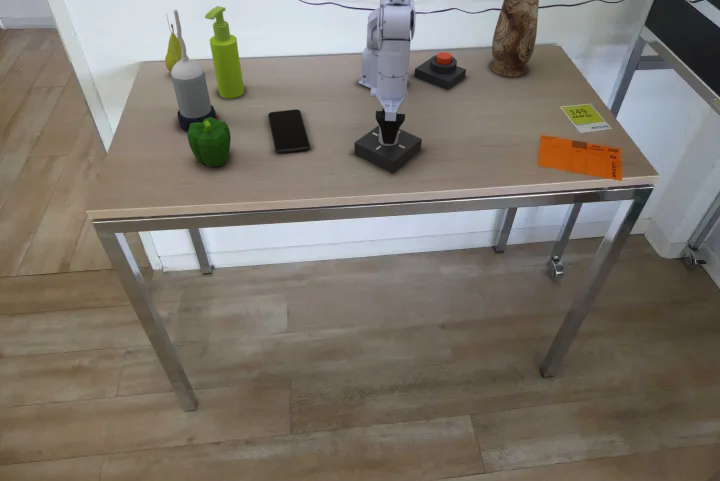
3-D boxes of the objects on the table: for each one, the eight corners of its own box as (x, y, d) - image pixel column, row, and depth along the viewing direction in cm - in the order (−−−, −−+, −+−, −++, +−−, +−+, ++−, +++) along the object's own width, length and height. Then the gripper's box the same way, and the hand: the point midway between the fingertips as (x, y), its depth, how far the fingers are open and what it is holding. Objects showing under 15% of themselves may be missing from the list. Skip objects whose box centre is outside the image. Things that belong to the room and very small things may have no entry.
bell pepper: (195, 148, 118) (186, 106, 111) (235, 147, 118) (228, 105, 111) (190, 173, 112) (179, 130, 105) (231, 171, 112) (224, 129, 105)
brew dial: (375, 142, 115) (376, 122, 112) (385, 132, 118) (386, 112, 114) (391, 148, 114) (393, 128, 110) (401, 138, 116) (403, 118, 113)
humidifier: (223, 126, 124) (202, 13, 106) (187, 136, 121) (159, 23, 103) (209, 108, 129) (187, -2, 111) (174, 118, 126) (146, 7, 108)
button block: (414, 76, 141) (415, 61, 138) (432, 64, 145) (433, 49, 143) (448, 89, 136) (450, 74, 134) (465, 76, 141) (468, 62, 138)
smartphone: (311, 150, 118) (300, 111, 128) (310, 146, 117) (300, 108, 128) (275, 154, 117) (267, 115, 127) (275, 151, 116) (267, 111, 126)
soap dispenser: (211, 97, 132) (195, 13, 118) (227, 83, 137) (213, 1, 123) (233, 102, 131) (219, 18, 117) (248, 88, 135) (237, 5, 121)
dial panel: (354, 154, 117) (354, 141, 115) (383, 133, 123) (383, 121, 121) (392, 173, 113) (393, 160, 111) (420, 150, 119) (422, 138, 116)
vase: (532, 79, 141) (564, -49, 120) (489, 78, 141) (514, -50, 120) (523, 59, 148) (553, -65, 127) (483, 58, 148) (506, -66, 127)
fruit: (173, 82, 137) (161, 35, 128) (165, 72, 140) (153, 25, 132) (195, 76, 139) (186, 29, 130) (187, 66, 142) (177, 20, 134)
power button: (433, 62, 139) (434, 55, 137) (441, 57, 141) (442, 50, 139) (445, 67, 137) (446, 60, 136) (453, 61, 139) (454, 55, 138)
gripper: (372, 51, 110) (370, 111, 120) (369, 89, 100) (367, 152, 109) (408, 52, 110) (403, 113, 119) (409, 91, 100) (404, 153, 109)
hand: (389, 131), depth 114 cm, fingers open, 7 cm apart
